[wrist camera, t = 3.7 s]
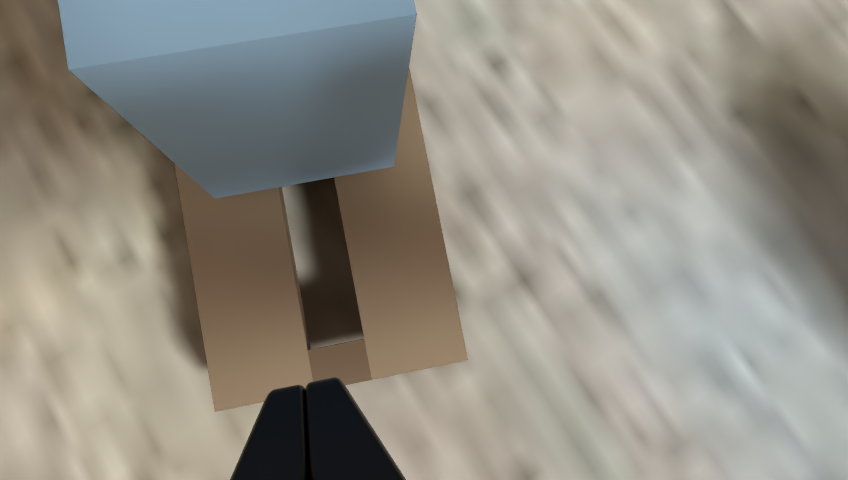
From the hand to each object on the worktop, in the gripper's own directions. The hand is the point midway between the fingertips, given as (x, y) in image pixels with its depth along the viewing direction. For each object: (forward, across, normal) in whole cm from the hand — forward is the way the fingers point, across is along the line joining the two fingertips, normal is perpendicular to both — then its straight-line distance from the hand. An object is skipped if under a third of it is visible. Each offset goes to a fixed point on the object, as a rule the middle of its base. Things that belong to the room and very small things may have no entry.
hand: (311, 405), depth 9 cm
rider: (+12, 0, +3) cm, 12 cm away
